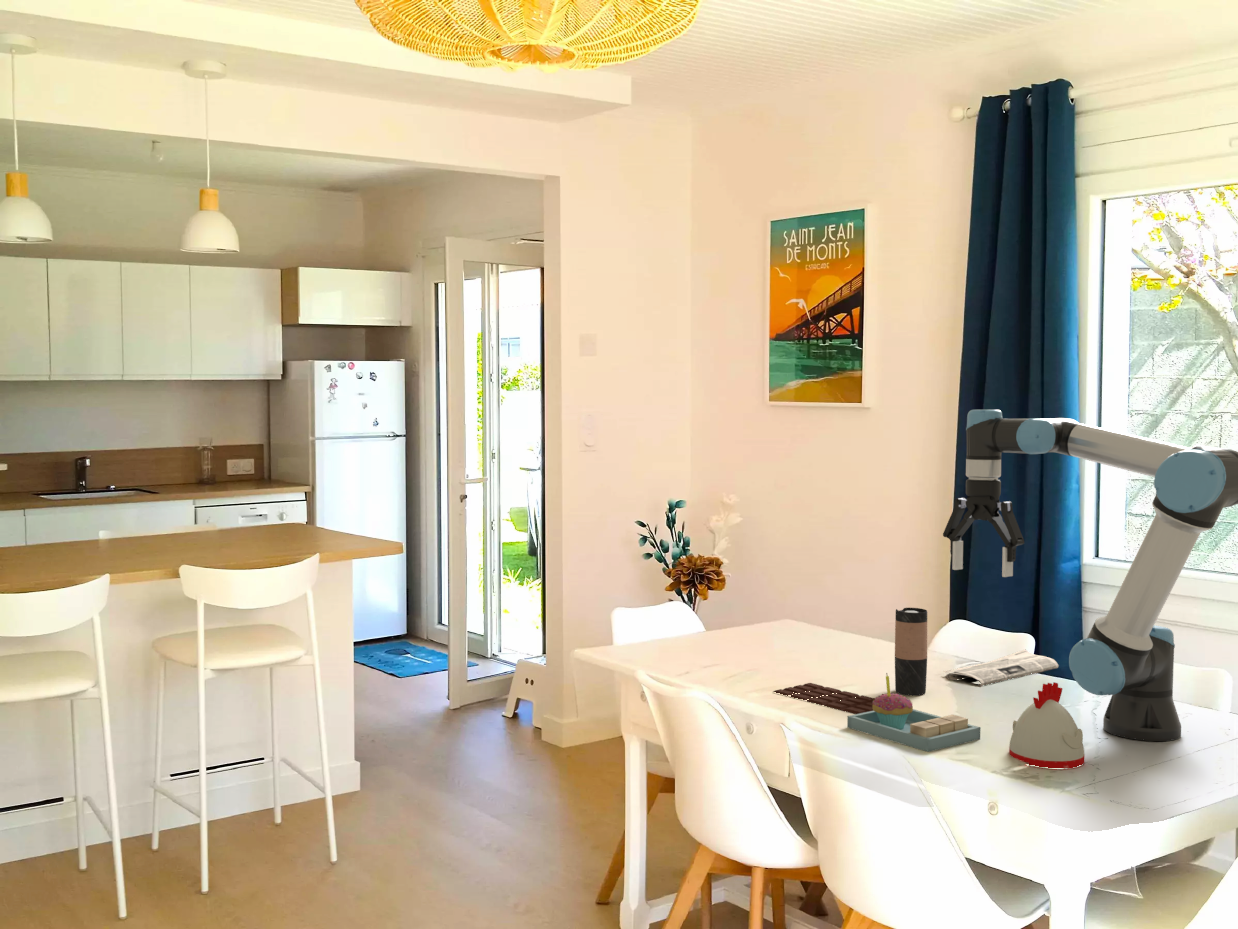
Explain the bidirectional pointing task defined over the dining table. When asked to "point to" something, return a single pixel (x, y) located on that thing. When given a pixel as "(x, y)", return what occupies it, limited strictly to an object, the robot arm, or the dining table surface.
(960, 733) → the tray
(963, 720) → the block
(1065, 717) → the kitchen timer
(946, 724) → the block
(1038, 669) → the newspaper
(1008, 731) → the dining table surface
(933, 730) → the block
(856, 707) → the chocolate bar
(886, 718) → the cupcake
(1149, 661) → the robot arm
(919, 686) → the travel mug
